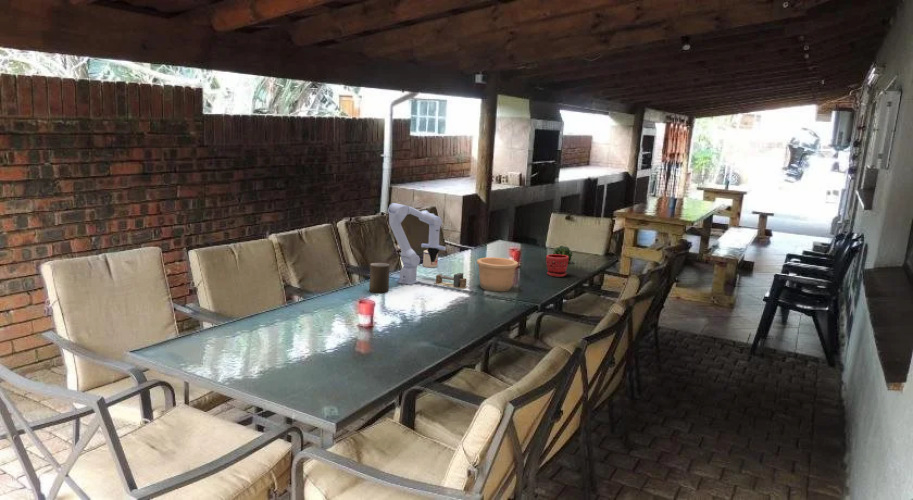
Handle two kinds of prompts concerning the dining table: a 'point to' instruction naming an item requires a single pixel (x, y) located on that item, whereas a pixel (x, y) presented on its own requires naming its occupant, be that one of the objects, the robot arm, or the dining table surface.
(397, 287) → the dining table surface
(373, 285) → the pillar candle
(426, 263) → the teacup with lid
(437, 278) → the rail
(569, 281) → the dining table surface
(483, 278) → the pottery
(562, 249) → the vegetable
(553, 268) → the plant pot
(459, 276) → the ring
